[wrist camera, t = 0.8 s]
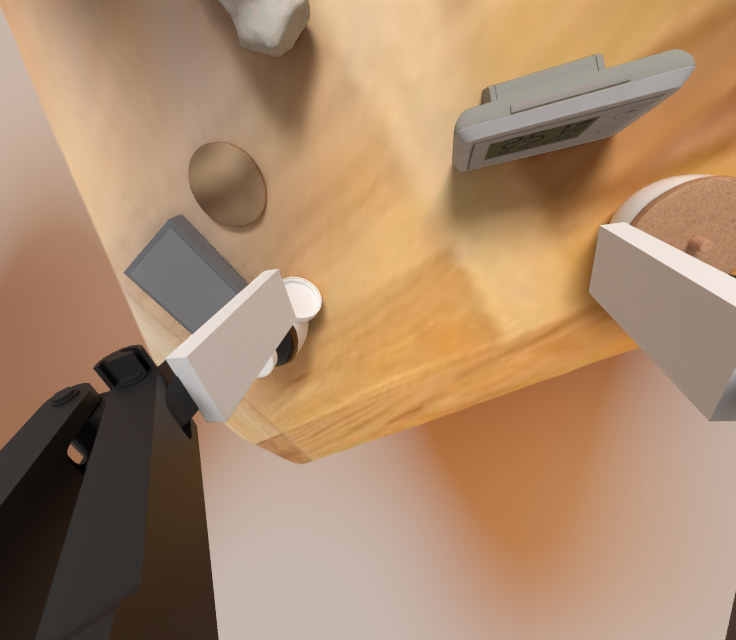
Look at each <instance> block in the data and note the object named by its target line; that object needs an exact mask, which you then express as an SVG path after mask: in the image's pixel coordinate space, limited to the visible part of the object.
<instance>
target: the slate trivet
mask: <svg viewBox="0 0 736 640" xmlns="http://www.w3.org/2000/svg"><path fill="white" fill-rule="evenodd" d="M124 274H126V275H127V276H128V277H129V278H130V279H131V280H132V281H133V282H135V283H136V284H137V285H138V286H139V287H140V288H141V289H142V290H143V291H145V292H146V293H147V294H148V295H149V296H150V297H151V298H152V299H154V300H155V301H156V302H157V303H158V304H159V305H160V306H161V307H162V308H164V309H165V310H166V311H167V312H168V313H169V314H170V315H171V316H172V317H174V318H175V319H176V320H177V321H178V322H179V323H180V324H181V325H183V326H184V327H185V328H186V329H187V330H188V331H189V332H190V333H191V334H193V333H195V332H196V331H197V330H198V329H199V328H200V327H201V326H202V325H204V324H205V323H206V322H207V321H208V320H209V319H210V318H211V317H213V316H214V315H215V314H216V313H217V312H218V311H219V310H221V309H222V308H223V307H224V306H225V305H226V304H227V303H228V302H230V301H231V300H232V299H233V298H234V297H235V296H236V295H237V294H239V293H240V292H241V291H242V290H243V289H244V288H245V287H247V286H248V285H249V284H248V283H247V282H246V281H245V280H244V279H243V278H242V277H241V276H240V275H239V274H238V273H237V272H236V271H235V270H234V268H233V267H232V266H231V265H230V264H229V263H228V262H227V261H226V260H225V259H224V258H223V257H222V256H221V255H220V254H219V253H218V252H217V251H216V250H215V249H214V248H213V247H212V245H211V244H210V243H209V242H208V241H207V240H206V239H205V238H204V237H203V236H202V235H201V234H200V233H199V232H198V231H197V230H196V229H195V228H194V227H193V226H192V225H191V224H190V223H189V221H188V220H187V219H186V218H185V217H184V216H183V215H179V216H176V217H174V218H171V219H169V220H168V221H167V223H166V224H165V225H164V226H163V227H162V228H161V230H160V231H159V232H158V233H157V234H156V235H155V237H154V238H153V239H152V240H151V241H150V242H149V244H148V245H147V246H146V247H145V248H144V249H143V251H142V252H141V253H140V254H139V255H138V256H137V258H136V259H135V260H134V261H133V262H132V263H131V265H130V266H129V267H128V268H127V269H126V270H125V272H124Z"/></svg>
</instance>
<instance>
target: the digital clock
mask: <svg viewBox="0 0 736 640" xmlns="http://www.w3.org/2000/svg"><path fill="white" fill-rule="evenodd" d="M694 69H695V61H694V58H693V57H692V55H691V54H689V53H687V52H686V51H683V50H680V49H675V50H670V51H666V52H663V53H659V54H655V55H652V56H648V57H645V58H641V59H638V60H634V61H631V62H627V63H624V64H620V65H617V66H613V67H610V68H607V69H605V66H604V60H603V55H602V54H595V55H591V56H588V57H585V58H582V59H579V60H575V61H572V62H569V63H565V64H562V65H559V66H555V67H552V68H549V69H546V70H542V71H539V72H536V73H532V74H529V75H526V76H522V77H519V78H516V79H513V80H509V81H506V82H503V83H499V84H496V85H492V86H489V87H487V88H485V89H484V90H483V91H482V99H483V105H480V106H476V107H473V108H470V109H467V110H465V111H464V112H463V113H462V114H461V115H460V117H459V118H458V120H457V122H456V125H455V129H454V139H453V157H452V162H453V166H454V167H455V168H456V169H458V170H459V171H460V172H466V171H471V170H475V169H479V168H484V167H488V166H492V165H496V164H500V163H505V162H509V161H513V160H517V159H521V158H526V157H530V156H534V155H538V154H542V153H547V152H551V151H555V150H559V149H563V148H567V147H572V146H576V145H580V144H584V143H588V142H592V141H596V140H600V139H604V138H608V137H611V136H613V135H615V134H617V133H619V132H620V131H622V130H623V129H624V128H626V127H627V126H629V125H630V124H632V123H633V122H634V121H636V120H637V119H639V118H640V117H641V116H643V115H644V114H646V113H647V112H649V111H650V110H651V109H653V108H654V107H656V106H657V105H658V104H660V103H661V102H663V101H664V100H666V99H667V98H668V97H670V96H671V95H672V94H674V93H675V92H676V91H678V90H679V89H680V88H681V86H682V85H683V84H684V83H685V81H686V80H687V79H688V78H689V76H690V75H691V73H692V72H693V71H694Z"/></svg>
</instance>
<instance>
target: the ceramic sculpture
mask: <svg viewBox="0 0 736 640" xmlns="http://www.w3.org/2000/svg"><path fill="white" fill-rule="evenodd" d="M218 1H219V3H220V4H221V5H222V6H223V7H224V8H225V10H226V11H227V13H228V14H229V16H230V17H231V18H232V19H233V22H234V25H235V28H236V31H237V37H238V39H239V43H240V45H241V47H242V48H246V49H248V50H250V51H252V52H255V53H265V54H267V55H270V56H273V57H280V56H282V55H283V54H284V53H285V52H287V51H289V50H291V49H292V48H293V46H294V44H295V42H296V40H297V39H298V37H299V36H300V34H301V33H302V31H303V30H304V28H305V27H306V25H307V22H308V20H309V18H310V6H309V1H308V0H218Z"/></svg>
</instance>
